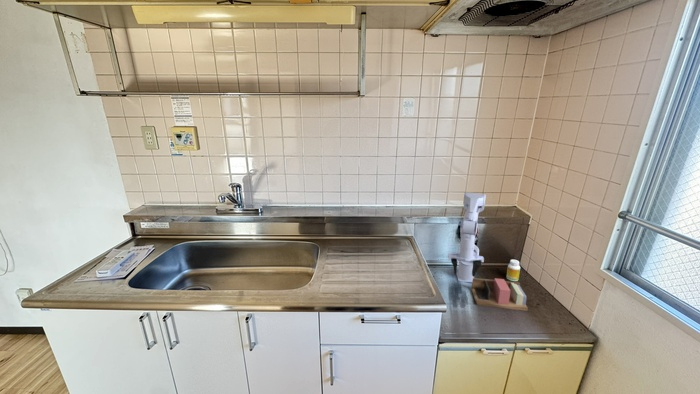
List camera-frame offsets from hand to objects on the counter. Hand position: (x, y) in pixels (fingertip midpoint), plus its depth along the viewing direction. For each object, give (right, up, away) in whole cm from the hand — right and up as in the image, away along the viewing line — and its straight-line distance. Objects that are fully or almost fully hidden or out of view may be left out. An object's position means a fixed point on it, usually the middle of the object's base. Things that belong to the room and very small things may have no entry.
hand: (464, 274), depth 127 cm
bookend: (+8, -9, +1) cm, 12 cm away
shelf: (+15, -11, -1) cm, 18 cm away
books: (+22, -10, -3) cm, 25 cm away
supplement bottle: (+31, -6, +15) cm, 35 cm away
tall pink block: (+15, -10, -2) cm, 18 cm away
